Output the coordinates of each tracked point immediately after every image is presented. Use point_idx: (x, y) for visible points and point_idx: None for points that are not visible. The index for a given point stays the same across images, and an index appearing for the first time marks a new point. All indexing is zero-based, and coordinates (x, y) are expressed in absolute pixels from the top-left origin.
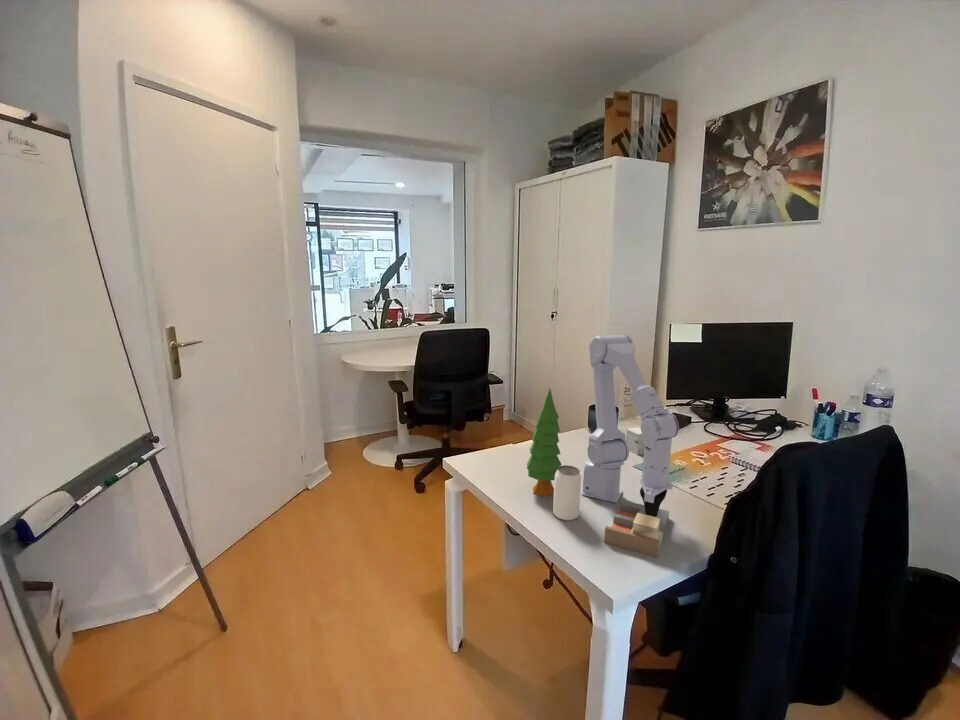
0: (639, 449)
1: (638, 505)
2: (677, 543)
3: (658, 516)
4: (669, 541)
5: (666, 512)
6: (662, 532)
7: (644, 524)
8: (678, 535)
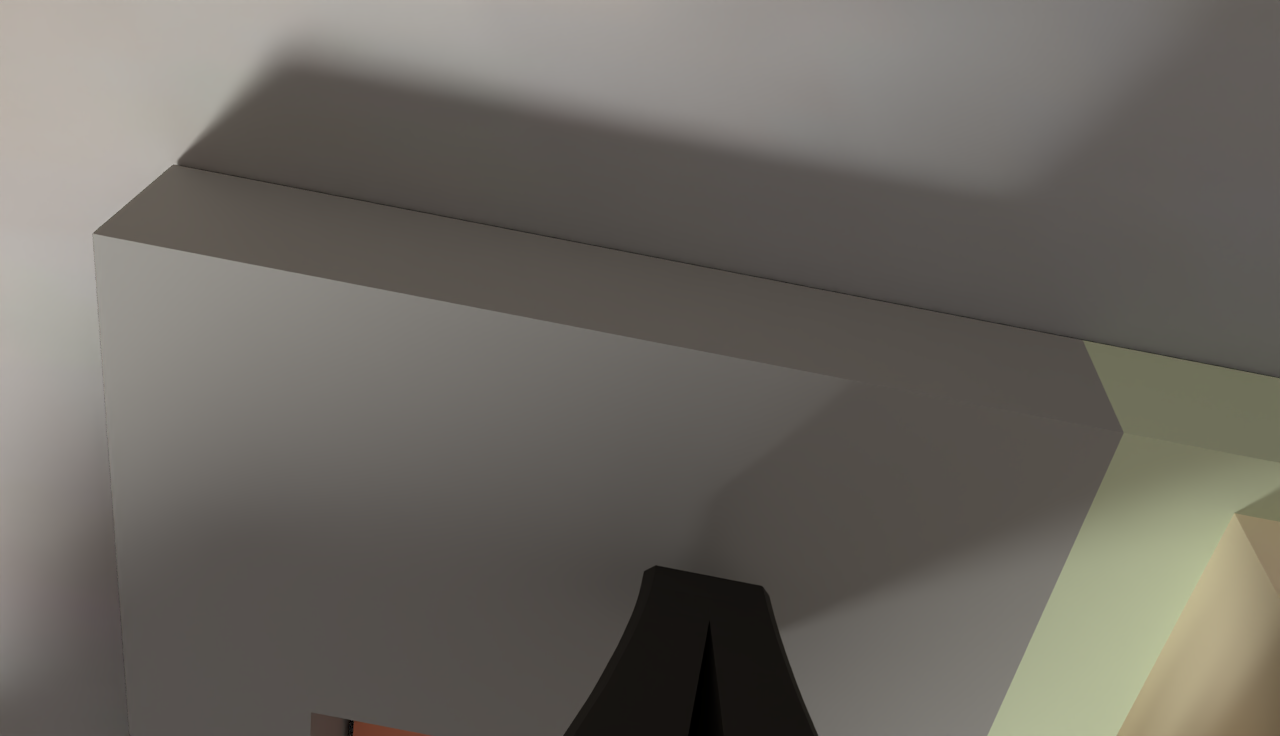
0: None
1: (195, 726)
2: (1156, 72)
3: (463, 457)
4: (1103, 218)
5: (200, 295)
6: (1141, 444)
7: None
8: (812, 20)
